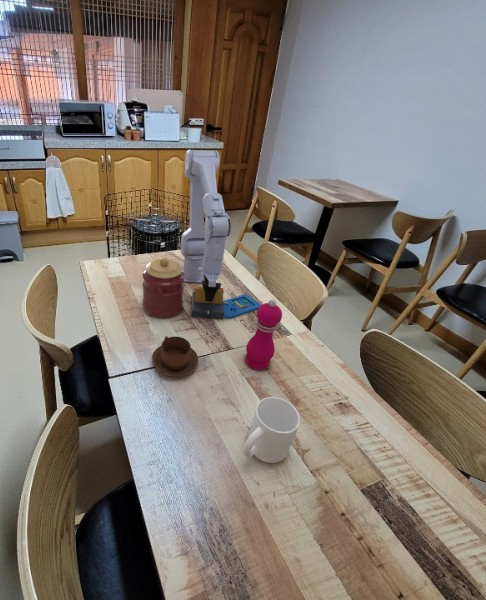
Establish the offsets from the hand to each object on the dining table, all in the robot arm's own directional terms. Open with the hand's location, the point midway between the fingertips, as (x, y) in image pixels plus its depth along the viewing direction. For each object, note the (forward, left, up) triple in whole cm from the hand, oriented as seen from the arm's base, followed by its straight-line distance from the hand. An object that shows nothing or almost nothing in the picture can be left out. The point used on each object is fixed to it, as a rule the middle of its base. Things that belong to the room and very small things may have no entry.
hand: (208, 294), depth 108 cm
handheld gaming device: (-2, +10, -6) cm, 11 cm away
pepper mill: (+24, +13, -6) cm, 27 cm away
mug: (+50, +10, -6) cm, 51 cm away
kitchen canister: (+1, -14, -6) cm, 16 cm away
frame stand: (0, 0, -5) cm, 5 cm away
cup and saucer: (+27, -9, -6) cm, 29 cm away
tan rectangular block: (0, 0, -3) cm, 3 cm away
